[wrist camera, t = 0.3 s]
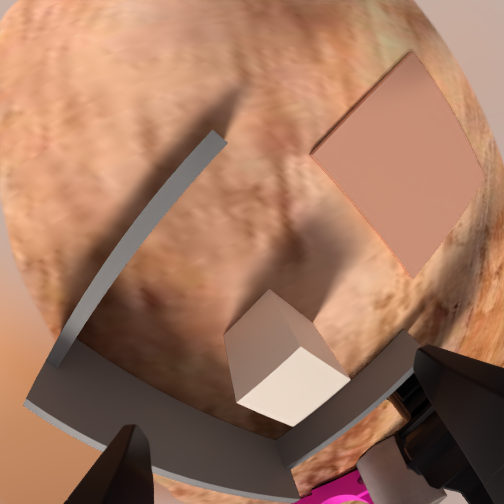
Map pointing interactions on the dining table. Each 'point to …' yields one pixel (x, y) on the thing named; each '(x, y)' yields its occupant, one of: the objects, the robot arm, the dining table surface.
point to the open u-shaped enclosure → (180, 414)
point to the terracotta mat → (404, 163)
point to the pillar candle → (394, 477)
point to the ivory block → (281, 362)
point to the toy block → (339, 491)
